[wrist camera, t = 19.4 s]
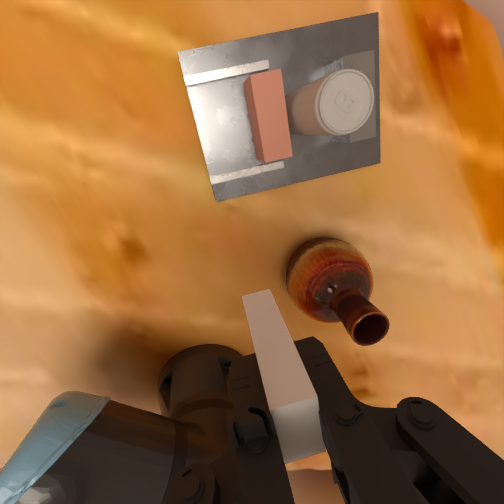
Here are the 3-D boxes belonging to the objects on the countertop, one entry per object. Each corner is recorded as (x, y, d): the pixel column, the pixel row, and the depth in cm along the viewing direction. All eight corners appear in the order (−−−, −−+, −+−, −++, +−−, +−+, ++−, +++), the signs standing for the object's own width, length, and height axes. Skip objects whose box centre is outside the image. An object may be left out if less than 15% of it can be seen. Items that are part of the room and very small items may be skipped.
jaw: (256, 158, 34) (265, 162, 30) (242, 83, 31) (249, 75, 27) (280, 153, 35) (292, 156, 30) (269, 78, 31) (280, 68, 27)
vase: (273, 295, 44) (307, 372, 30) (287, 226, 40) (334, 277, 26) (339, 299, 46) (400, 372, 32) (358, 234, 42) (438, 284, 28)
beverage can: (303, 143, 35) (350, 147, 24) (271, 119, 33) (306, 112, 22) (327, 106, 34) (387, 92, 23) (294, 79, 32) (343, 51, 21)
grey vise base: (215, 200, 37) (218, 212, 31) (178, 54, 30) (173, 36, 25) (376, 162, 38) (405, 167, 33) (373, 15, 32) (408, -10, 26)
